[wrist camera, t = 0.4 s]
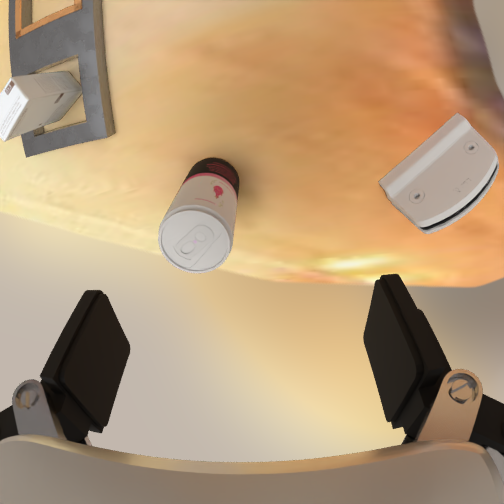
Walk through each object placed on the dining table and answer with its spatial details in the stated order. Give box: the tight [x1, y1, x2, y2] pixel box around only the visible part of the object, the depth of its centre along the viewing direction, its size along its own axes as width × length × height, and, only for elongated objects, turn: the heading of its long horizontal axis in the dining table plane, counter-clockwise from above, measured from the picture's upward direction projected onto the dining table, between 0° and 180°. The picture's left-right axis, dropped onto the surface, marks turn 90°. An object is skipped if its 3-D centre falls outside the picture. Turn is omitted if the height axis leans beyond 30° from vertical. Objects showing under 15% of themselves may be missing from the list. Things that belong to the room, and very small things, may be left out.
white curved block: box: [378, 113, 499, 234], centre depth 34 cm, size 17×5×10 cm, turn 136°
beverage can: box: [158, 158, 239, 273], centre depth 33 cm, size 6×6×15 cm
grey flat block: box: [9, 0, 115, 157], centre depth 26 cm, size 30×14×3 cm, turn 3°
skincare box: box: [0, 71, 82, 142], centre depth 26 cm, size 6×4×12 cm
